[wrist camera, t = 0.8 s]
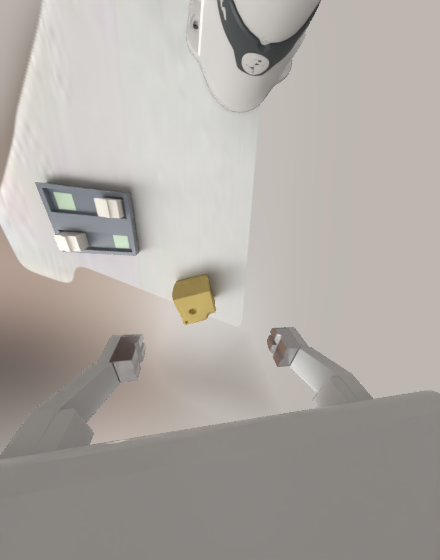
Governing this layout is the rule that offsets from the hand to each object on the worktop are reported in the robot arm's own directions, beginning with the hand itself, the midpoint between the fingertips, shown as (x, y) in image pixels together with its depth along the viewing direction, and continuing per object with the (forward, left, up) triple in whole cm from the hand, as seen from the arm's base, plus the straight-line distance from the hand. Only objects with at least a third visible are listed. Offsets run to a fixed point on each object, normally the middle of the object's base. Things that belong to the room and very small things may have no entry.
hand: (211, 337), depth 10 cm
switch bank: (+2, -23, -36) cm, 43 cm away
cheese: (+21, 0, -36) cm, 42 cm away
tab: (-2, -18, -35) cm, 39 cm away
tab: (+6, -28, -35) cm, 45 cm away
